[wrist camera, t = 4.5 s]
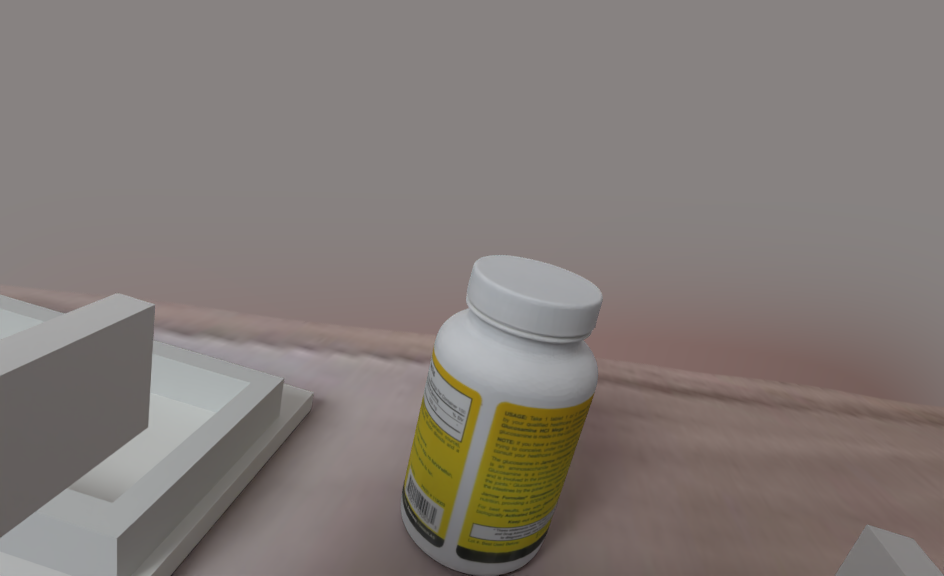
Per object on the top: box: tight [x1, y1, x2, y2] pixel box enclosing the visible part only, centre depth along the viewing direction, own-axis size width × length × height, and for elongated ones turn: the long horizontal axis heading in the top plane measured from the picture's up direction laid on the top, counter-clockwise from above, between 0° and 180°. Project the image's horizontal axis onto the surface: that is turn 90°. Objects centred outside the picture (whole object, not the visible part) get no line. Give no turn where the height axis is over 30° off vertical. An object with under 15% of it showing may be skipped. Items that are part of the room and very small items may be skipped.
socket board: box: [0, 295, 314, 576], centre depth 22 cm, size 20×12×3 cm, turn 81°
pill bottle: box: [401, 255, 603, 576], centre depth 21 cm, size 6×6×11 cm
